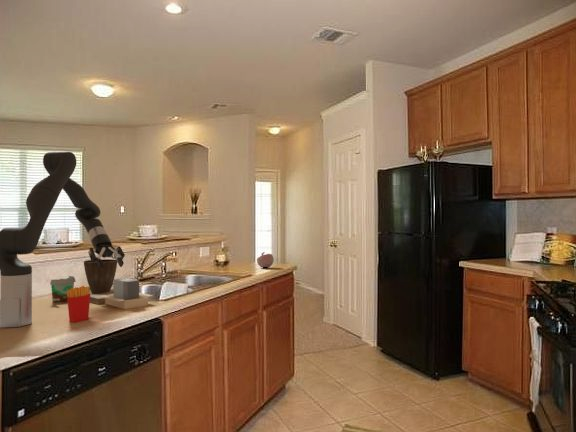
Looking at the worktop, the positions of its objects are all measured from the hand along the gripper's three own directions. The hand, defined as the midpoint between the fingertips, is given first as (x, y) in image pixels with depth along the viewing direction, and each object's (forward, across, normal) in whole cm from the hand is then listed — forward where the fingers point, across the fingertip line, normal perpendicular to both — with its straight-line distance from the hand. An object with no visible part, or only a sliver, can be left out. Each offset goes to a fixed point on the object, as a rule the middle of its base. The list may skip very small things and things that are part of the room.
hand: (112, 266), depth 189 cm
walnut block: (+8, -2, +13) cm, 16 cm away
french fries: (+26, -24, -4) cm, 36 cm away
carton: (+19, 0, +3) cm, 19 cm away
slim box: (+18, 0, +2) cm, 19 cm away
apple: (-15, +132, +37) cm, 138 cm away
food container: (-3, -11, +25) cm, 28 cm away
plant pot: (-6, +7, +28) cm, 30 cm away
